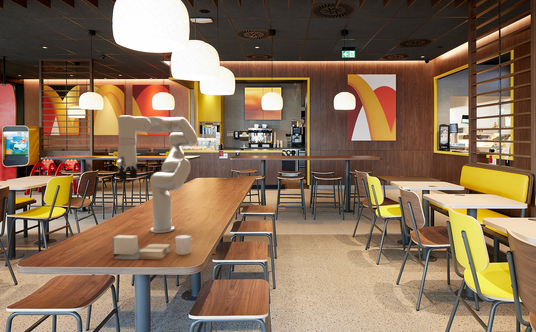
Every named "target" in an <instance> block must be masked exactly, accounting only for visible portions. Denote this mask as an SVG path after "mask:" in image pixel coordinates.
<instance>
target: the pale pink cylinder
mask: <svg viewBox="0 0 536 332" xmlns="http://www.w3.org/2000/svg"><path fill="white" fill-rule="evenodd" d="M174 240H175V249H176V254H177V255H178V256H179V255H180V256H182V255H188V254H190V253H191V244H192V235H189V234H179V235H176V236H175V237H174Z"/></svg>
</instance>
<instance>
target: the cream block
mask: <svg viewBox="0 0 536 332" xmlns="http://www.w3.org/2000/svg"><path fill="white" fill-rule="evenodd" d="M138 239H139V237H138V235H131V234H130V235H129V234H128V235H127V234H126V235H125V234H116V235H115V236H113V237H112V254H113V255H120V254H130V255H134V254H135V253H137V252H138V248H139V244H138V243H139V240H138Z"/></svg>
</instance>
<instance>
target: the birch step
mask: <svg viewBox="0 0 536 332" xmlns="http://www.w3.org/2000/svg"><path fill="white" fill-rule="evenodd" d="M171 246H172V245H171V244H170V243H149V244H148V245H146V246H145V247H142V248H143V249H142V250H140V251H139V259H138V260H162V259H163V258H165V257H166V256H167V255H168V254H169V253H170V252H172V247H171Z"/></svg>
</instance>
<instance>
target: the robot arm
mask: <svg viewBox="0 0 536 332" xmlns="http://www.w3.org/2000/svg"><path fill="white" fill-rule="evenodd" d="M117 119H118V120H117V126H118V127H117V128H118V133H117V134H118V147H117V155H116V156H117V157H116V159H117V162H116V165H117V169H118V177H119V178H118V180H119V181H127V180H128V178H127V171H126V170H127V168H129V178H130V179H137V178H138V174H137V173H138V171H137V170H138V162H139V160H138V158H137V156H138V154H137V147H136V146H137V133H151V134H160V133H161V134H162V133H163V134H164V133H165V134H167V133H170V134H169V137H168V142H169V148H170V149H169V150H170V151H169V153H168V155H167V156H166V158H165V160H164V161H163V163H162V165H161V171H159V172H155V173H153V174H151V176H150V180H149V181H150V188H151V192H152V193H151V194H152V195H151V196H152V227H150V229H149V231H150V233H154V234H164V233H170V232H173V231H175V226H173V225H172V223H173V220H172V196H171V194H170V191H179V190H180V189H181V188H182V187H183V185H184V183H185V182H186V180H187V178H188V176H189V175H190V172H191V168H192V167H191V166H192V165H191V162H190V161H189V160H188V159H187V158H185V153H184V150H183V149H182V147H192V146H193V147H194V146H195V145H196V144H197V142H198V136H197V133H196V131H195V129H194V128H193V127H192V125H191V124H190V122H189V121H188V119H186V118H185V117H184V116H174V117H173V116H171V117H170V116H169V117H167V116H148V117H147V116H141V115H140V116H133V115H127V114H126V115H118V117H117Z"/></svg>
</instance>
